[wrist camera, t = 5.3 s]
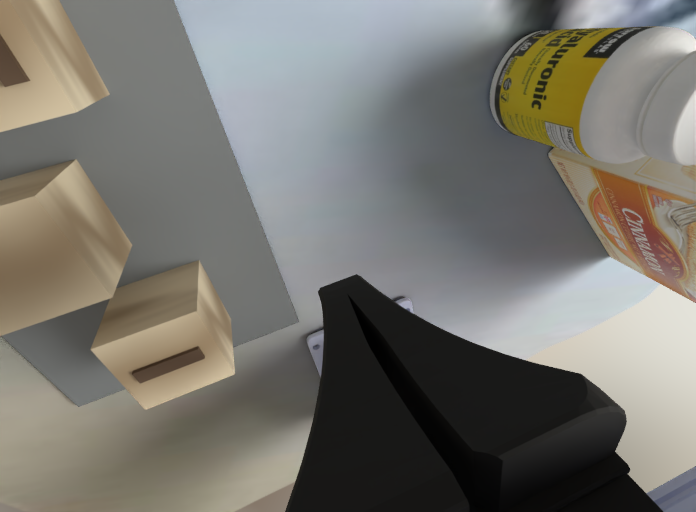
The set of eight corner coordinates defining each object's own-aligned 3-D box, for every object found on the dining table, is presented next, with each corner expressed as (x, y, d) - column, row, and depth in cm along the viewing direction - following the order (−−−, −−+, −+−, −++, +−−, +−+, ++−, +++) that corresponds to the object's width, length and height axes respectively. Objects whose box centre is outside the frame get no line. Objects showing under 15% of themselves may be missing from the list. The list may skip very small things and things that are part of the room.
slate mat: (297, 319, 24) (298, 321, 24) (79, 402, 22) (78, 407, 22) (112, -156, 12) (110, -160, 11) (-430, -73, 10) (-447, -76, 9)
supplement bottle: (538, 5, 19) (780, -22, 11) (578, 75, 22) (793, 95, 14) (468, 95, 20) (639, 130, 12) (515, 150, 23) (678, 209, 15)
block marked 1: (230, 318, 22) (235, 377, 18) (156, 346, 21) (144, 413, 17) (199, 260, 19) (196, 313, 16) (113, 289, 19) (89, 353, 15)
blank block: (132, 245, 18) (112, 297, 14) (36, 276, 17) (-11, 339, 14) (76, 158, 15) (34, 195, 12) (-39, 191, 15) (-121, 241, 11)
